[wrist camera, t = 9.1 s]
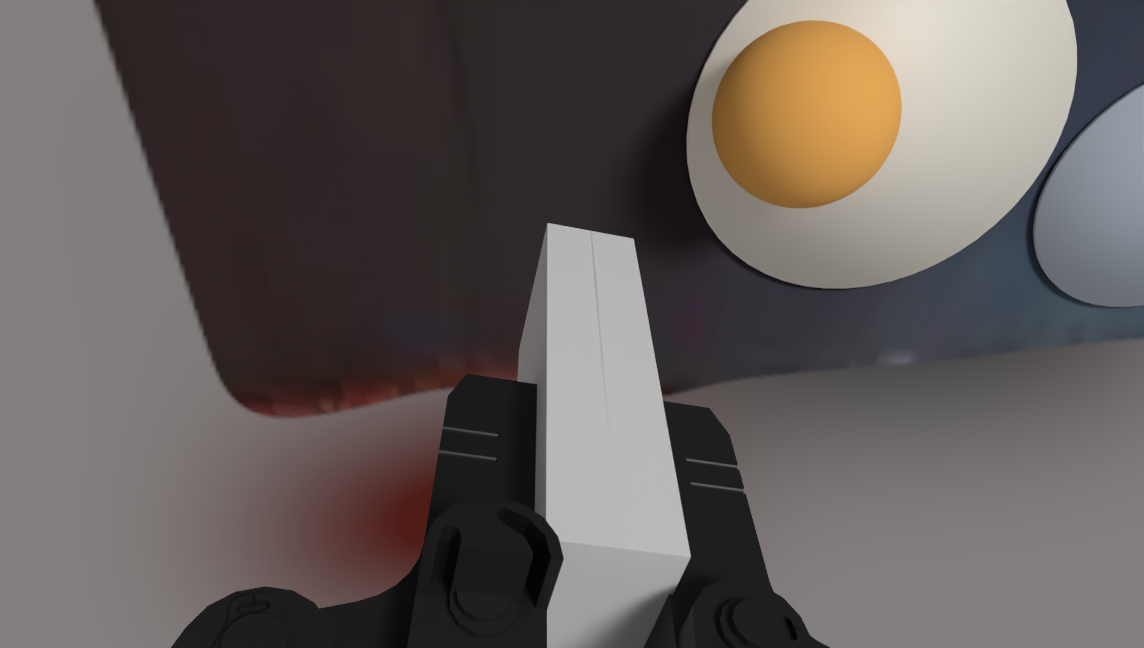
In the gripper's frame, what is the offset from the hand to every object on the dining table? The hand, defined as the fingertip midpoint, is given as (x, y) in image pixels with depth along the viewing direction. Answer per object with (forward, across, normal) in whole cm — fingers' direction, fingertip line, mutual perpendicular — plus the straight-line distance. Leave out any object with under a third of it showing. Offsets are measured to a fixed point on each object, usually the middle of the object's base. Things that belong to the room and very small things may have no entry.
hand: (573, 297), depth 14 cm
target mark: (+14, +11, 0) cm, 18 cm away
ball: (+11, +7, +1) cm, 13 cm away
